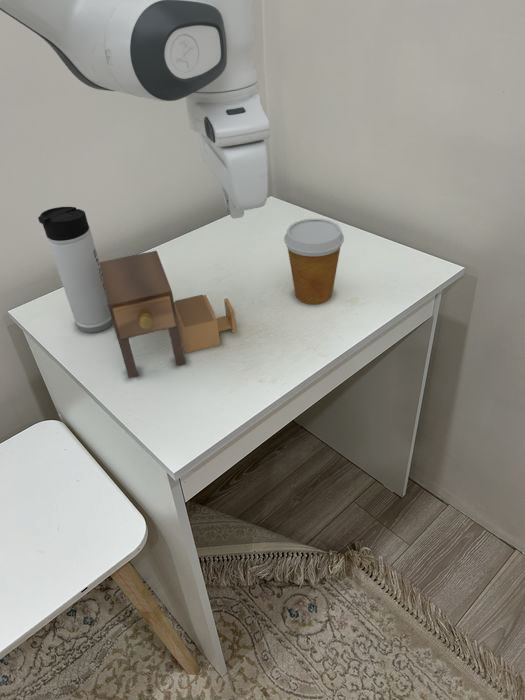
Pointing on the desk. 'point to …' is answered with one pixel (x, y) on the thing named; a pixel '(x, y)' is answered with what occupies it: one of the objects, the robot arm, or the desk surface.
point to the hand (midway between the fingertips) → (235, 213)
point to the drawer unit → (140, 303)
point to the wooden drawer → (202, 322)
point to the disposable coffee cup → (313, 258)
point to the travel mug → (78, 266)
